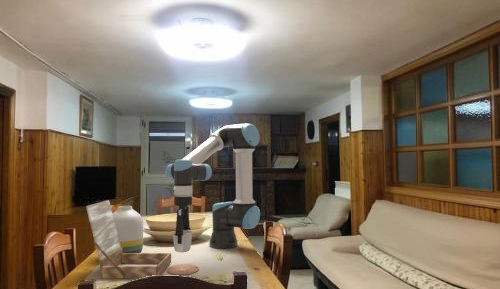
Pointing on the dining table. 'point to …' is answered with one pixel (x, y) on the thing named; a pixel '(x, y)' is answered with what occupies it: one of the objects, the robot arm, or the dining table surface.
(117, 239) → the cold frame
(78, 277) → the dining table surface
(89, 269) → the dining table surface
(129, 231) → the vase
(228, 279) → the dining table surface
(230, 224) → the robot arm
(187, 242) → the cup
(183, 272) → the saucer
